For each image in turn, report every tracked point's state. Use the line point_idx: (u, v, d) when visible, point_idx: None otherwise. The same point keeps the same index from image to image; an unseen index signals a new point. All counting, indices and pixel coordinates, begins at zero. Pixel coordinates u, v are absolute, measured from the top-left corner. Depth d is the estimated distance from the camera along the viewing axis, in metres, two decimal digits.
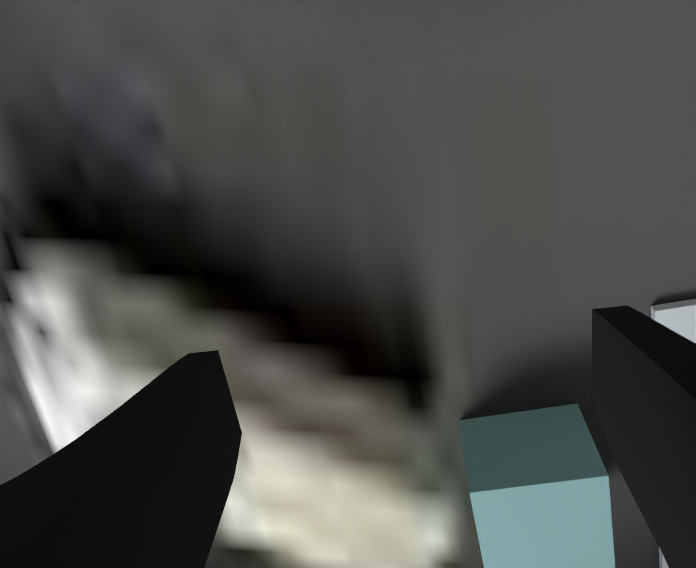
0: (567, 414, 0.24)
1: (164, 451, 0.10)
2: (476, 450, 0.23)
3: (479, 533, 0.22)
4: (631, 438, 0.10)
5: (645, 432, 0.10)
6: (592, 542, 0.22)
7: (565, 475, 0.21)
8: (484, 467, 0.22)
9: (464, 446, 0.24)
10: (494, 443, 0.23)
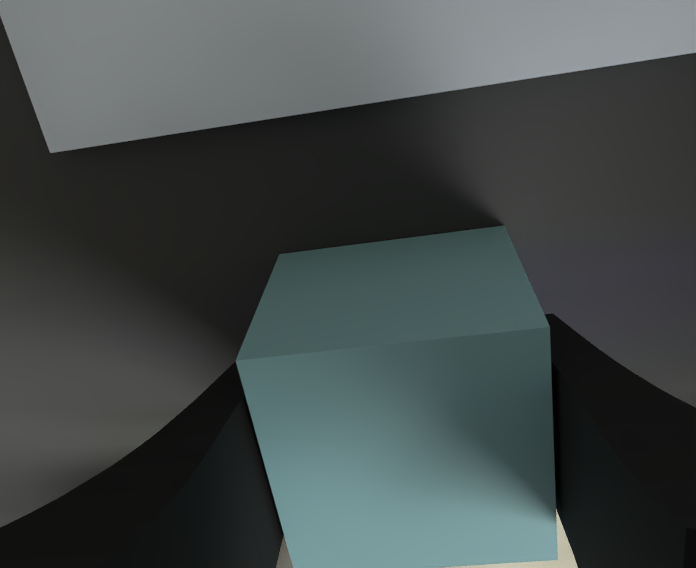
0: None
1: (243, 444, 0.10)
2: None
3: (402, 566, 0.11)
4: None
5: (558, 439, 0.10)
6: (439, 379, 0.09)
7: (257, 420, 0.10)
8: None
9: None
10: None
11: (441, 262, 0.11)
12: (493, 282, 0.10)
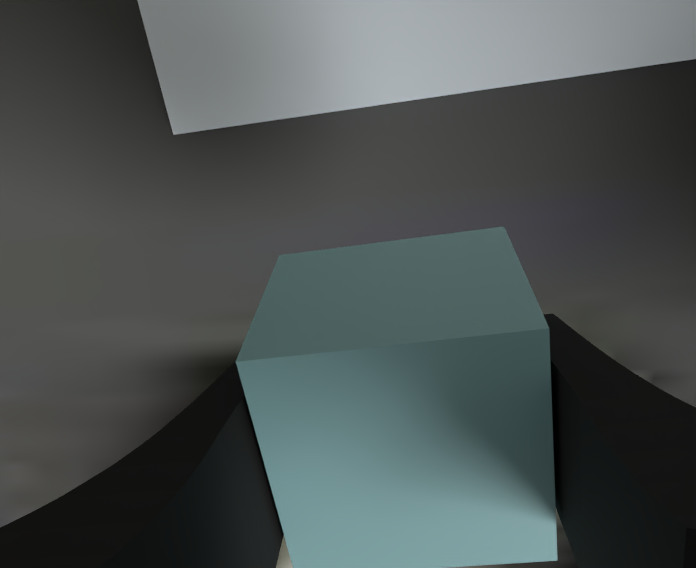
0: None
1: (243, 444, 0.10)
2: None
3: (402, 567, 0.11)
4: None
5: (557, 440, 0.10)
6: (439, 380, 0.09)
7: (258, 421, 0.10)
8: None
9: None
10: None
11: (440, 263, 0.11)
12: (492, 283, 0.10)
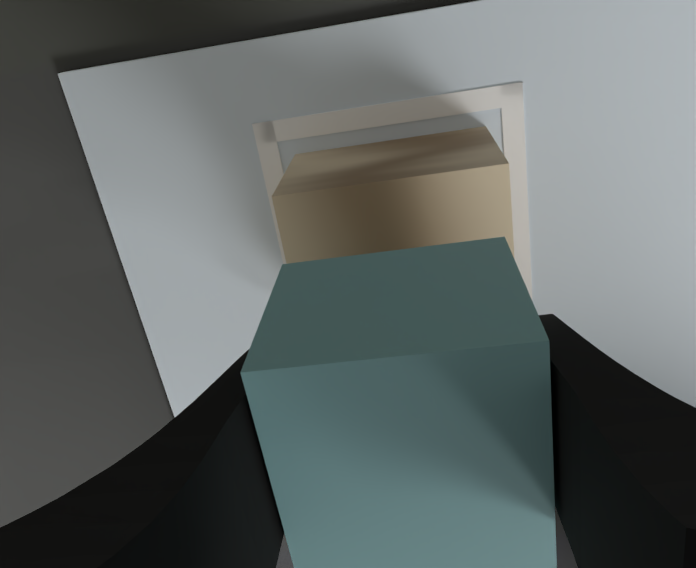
0: None
1: (243, 444, 0.10)
2: None
3: None
4: None
5: (557, 439, 0.10)
6: (441, 391, 0.09)
7: (262, 430, 0.10)
8: None
9: None
10: None
11: (442, 273, 0.11)
12: (493, 294, 0.10)
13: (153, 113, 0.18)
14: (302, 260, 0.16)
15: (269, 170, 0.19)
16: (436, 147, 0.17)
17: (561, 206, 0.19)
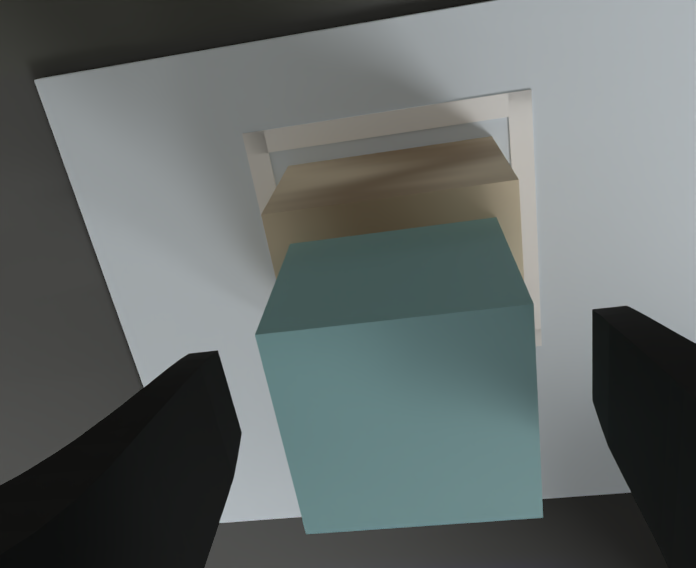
0: None
1: (164, 451, 0.10)
2: None
3: (403, 524, 0.12)
4: (631, 438, 0.10)
5: (645, 432, 0.10)
6: (436, 351, 0.10)
7: (273, 390, 0.11)
8: None
9: None
10: None
11: (438, 250, 0.12)
12: (484, 266, 0.11)
13: (136, 122, 0.17)
14: None
15: (261, 183, 0.18)
16: (439, 160, 0.16)
17: (572, 221, 0.18)
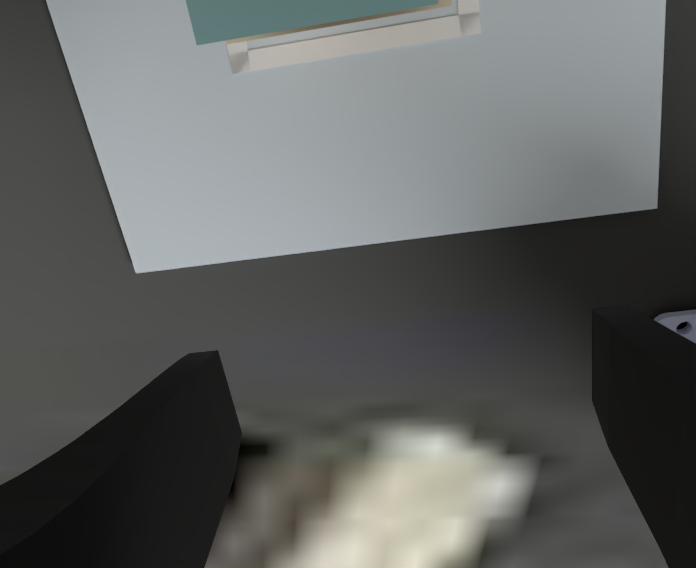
0: None
1: (164, 451, 0.10)
2: None
3: (295, 24, 0.12)
4: (631, 438, 0.10)
5: (645, 432, 0.10)
6: None
7: None
8: None
9: None
10: None
11: None
12: None
13: None
14: None
15: None
16: None
17: None
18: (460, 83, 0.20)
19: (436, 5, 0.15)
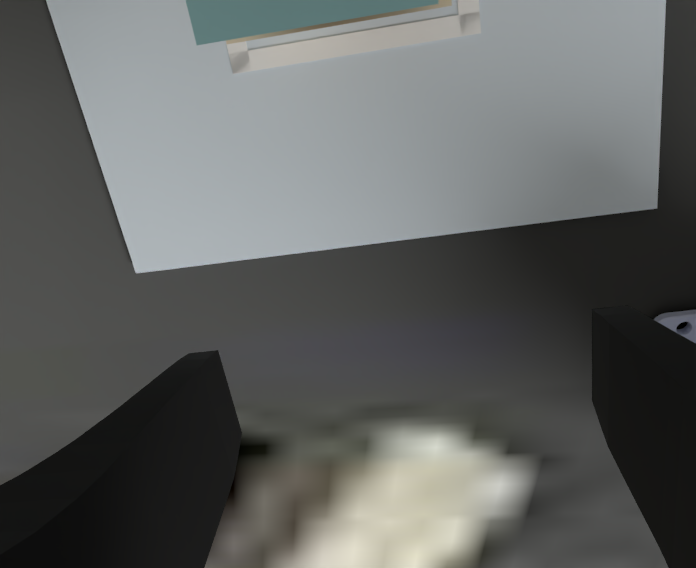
0: None
1: (164, 451, 0.10)
2: None
3: (295, 24, 0.12)
4: (631, 438, 0.10)
5: (645, 432, 0.10)
6: None
7: None
8: None
9: None
10: None
11: None
12: None
13: None
14: None
15: None
16: None
17: None
18: (460, 83, 0.20)
19: (436, 5, 0.15)
